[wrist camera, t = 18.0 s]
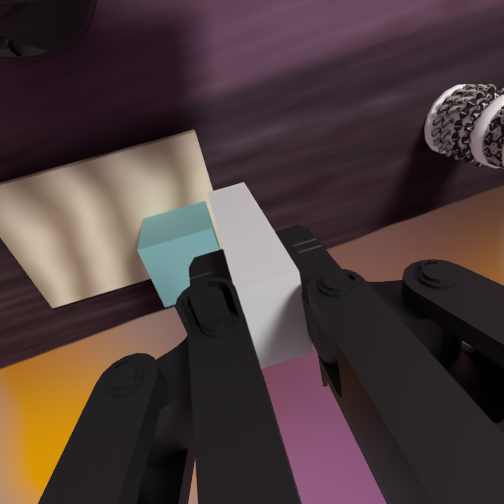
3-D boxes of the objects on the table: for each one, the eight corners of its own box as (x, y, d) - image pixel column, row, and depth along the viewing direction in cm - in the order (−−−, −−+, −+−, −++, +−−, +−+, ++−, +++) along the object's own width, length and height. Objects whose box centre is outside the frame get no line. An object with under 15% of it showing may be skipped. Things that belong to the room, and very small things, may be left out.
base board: (56, 301, 43) (52, 308, 42) (-25, 189, 34) (-32, 193, 33) (230, 248, 44) (231, 253, 43) (194, 129, 36) (195, 131, 35)
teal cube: (166, 269, 42) (164, 307, 36) (143, 218, 38) (137, 250, 32) (221, 252, 43) (231, 286, 36) (205, 200, 39) (212, 228, 32)
